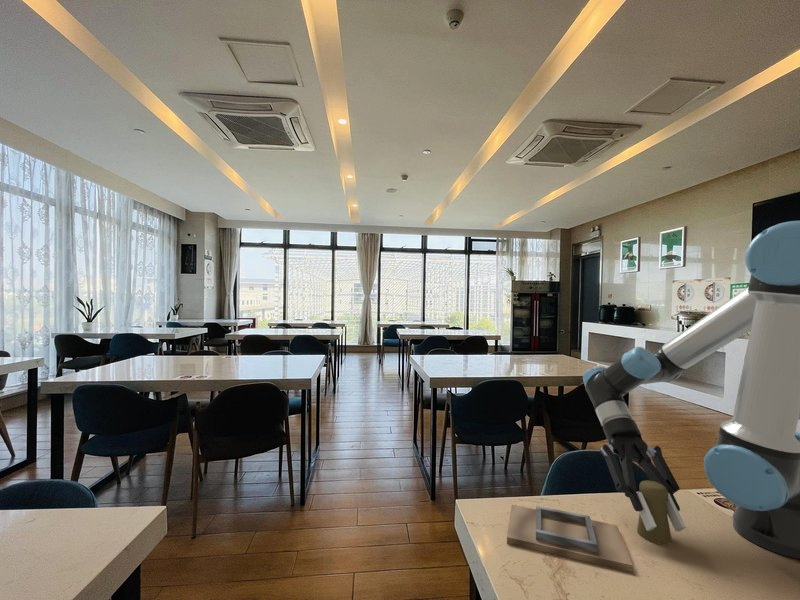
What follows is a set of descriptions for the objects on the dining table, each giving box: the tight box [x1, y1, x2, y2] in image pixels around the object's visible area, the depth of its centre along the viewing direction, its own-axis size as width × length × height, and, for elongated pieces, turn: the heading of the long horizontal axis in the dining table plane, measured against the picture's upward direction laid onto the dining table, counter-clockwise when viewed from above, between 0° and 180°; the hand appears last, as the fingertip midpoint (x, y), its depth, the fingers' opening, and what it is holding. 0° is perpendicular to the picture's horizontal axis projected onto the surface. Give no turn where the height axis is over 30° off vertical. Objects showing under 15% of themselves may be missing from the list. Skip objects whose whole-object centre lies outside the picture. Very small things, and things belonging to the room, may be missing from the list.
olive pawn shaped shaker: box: [636, 479, 673, 546], centre depth 77 cm, size 6×6×11 cm
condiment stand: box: [506, 504, 634, 573], centre depth 76 cm, size 22×14×3 cm, turn 69°
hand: (666, 528), depth 73 cm, fingers closed on olive pawn shaped shaker, 5 cm apart
